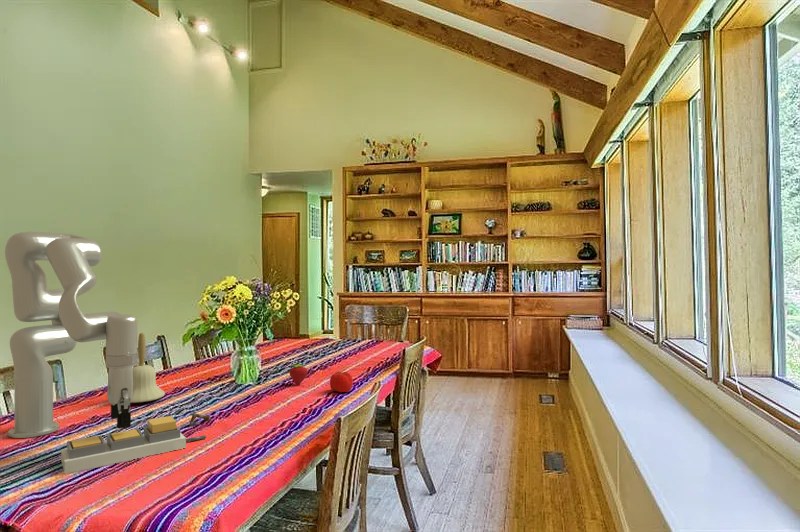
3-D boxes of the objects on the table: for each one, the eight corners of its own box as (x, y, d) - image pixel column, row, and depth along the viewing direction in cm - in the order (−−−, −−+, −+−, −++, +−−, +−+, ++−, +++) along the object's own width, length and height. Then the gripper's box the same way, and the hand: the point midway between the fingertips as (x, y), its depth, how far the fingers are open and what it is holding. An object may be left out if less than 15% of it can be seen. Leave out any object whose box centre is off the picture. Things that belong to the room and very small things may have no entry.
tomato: (342, 395, 198) (342, 376, 198) (325, 392, 204) (325, 373, 204) (358, 390, 206) (358, 372, 206) (342, 387, 211) (342, 369, 211)
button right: (147, 427, 144) (147, 419, 144) (170, 423, 147) (170, 415, 147) (152, 433, 139) (152, 425, 139) (176, 429, 142) (176, 421, 142)
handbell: (109, 403, 187) (108, 334, 187) (146, 393, 200) (146, 329, 200) (136, 408, 180) (136, 337, 180) (173, 398, 193) (173, 331, 193)
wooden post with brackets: (185, 425, 160) (189, 410, 161) (202, 428, 167) (206, 414, 168) (190, 426, 159) (194, 411, 161) (206, 429, 166) (210, 414, 168)
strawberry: (306, 386, 212) (306, 362, 212) (288, 386, 212) (288, 362, 212) (308, 383, 218) (308, 359, 218) (290, 383, 218) (290, 359, 218)
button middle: (110, 441, 138) (110, 433, 138) (135, 437, 142) (135, 429, 142) (114, 448, 133) (114, 439, 133) (140, 443, 137) (140, 435, 137)
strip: (61, 461, 133) (61, 441, 133) (201, 433, 154) (201, 416, 154) (64, 474, 125) (64, 452, 125) (211, 443, 146) (211, 425, 146)
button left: (71, 449, 133) (71, 440, 133) (98, 444, 136) (98, 435, 136) (73, 456, 128) (73, 447, 128) (101, 450, 132) (101, 442, 132)
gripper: (101, 356, 146) (100, 416, 146) (111, 367, 132) (110, 434, 133) (130, 353, 151) (129, 412, 151) (143, 364, 137) (142, 428, 137)
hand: (120, 422), depth 142 cm, fingers open, 9 cm apart
